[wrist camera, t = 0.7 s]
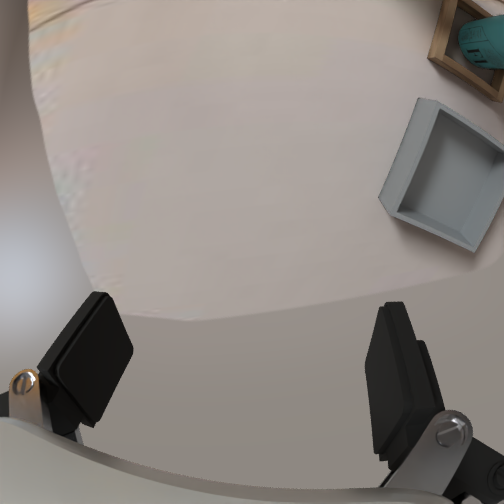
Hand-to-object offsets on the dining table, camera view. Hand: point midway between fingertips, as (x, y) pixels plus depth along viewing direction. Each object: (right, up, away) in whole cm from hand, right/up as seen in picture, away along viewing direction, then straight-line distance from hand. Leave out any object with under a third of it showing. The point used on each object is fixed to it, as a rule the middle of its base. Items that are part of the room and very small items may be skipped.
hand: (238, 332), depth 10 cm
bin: (+25, +13, +23) cm, 36 cm away
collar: (+28, +28, +14) cm, 42 cm away
